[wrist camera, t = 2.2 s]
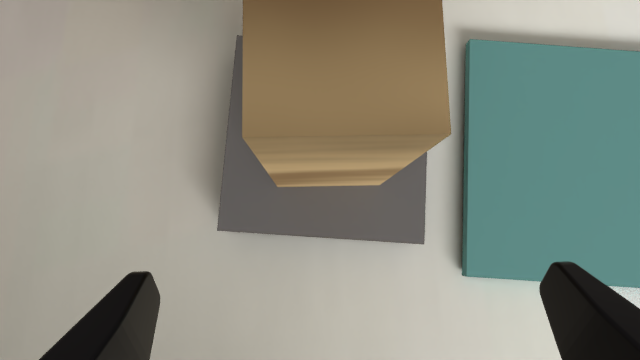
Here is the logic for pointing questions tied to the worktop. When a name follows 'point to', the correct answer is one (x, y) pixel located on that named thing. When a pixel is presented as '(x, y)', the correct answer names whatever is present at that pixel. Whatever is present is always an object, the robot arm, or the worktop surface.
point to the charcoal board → (314, 195)
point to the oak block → (342, 88)
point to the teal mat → (551, 161)
